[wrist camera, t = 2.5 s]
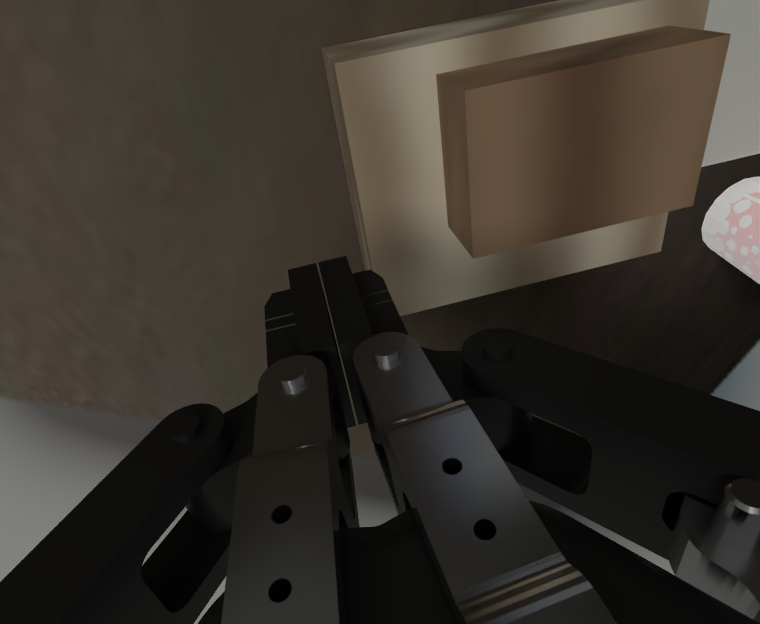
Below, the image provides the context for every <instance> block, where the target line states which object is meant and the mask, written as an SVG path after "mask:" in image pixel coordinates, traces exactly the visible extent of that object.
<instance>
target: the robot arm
mask: <svg viewBox="0 0 760 624" xmlns="http://www.w3.org/2000/svg"><path fill="white" fill-rule="evenodd" d="M318 263H319V267H320V271H321V275H322V279H323V284H324V288H325V292H326V296H327V300H328V304H329V308H330V312H331V316H332V320H333V324H334V329H335V333H336V337H337V341H338V345H339V349H340V353H341V357H342V361H343V365H344V368H345V372H346V376H347V380H348V384H349V388H350V392H351V396H352V400H353V404H354V408H355V412H356V416H357V419H358V423H359V424H363V423H368V427H369V430H370V434H371V438H372V442H373V446H374V450H375V454H376V456H377V459H378V462H379V465H380V467H381V470H382V473H383V475H384V478H385V481H386V483H387V486H388V489H389V492H390V494H391V497H392V500H393V502H394V505H395V508H396V510H397V513H398V516H396V517H394V518H392V519H391V520H389V521H387V522H386V523H384V524H382V525H379V526H376V527H359V518H358V510H357V501H356V494H355V485H354V476H353V468H352V459H351V454H350V451H349V449H350V439H349V435H348V430H347V428H349V427H353V426H356V424H355V419H354V415H353V411H352V407H351V403H350V399H349V394H348V390H347V386H346V382H345V378H344V373H343V369H342V365H341V361H340V357H339V353H338V348H337V344H336V340H335V336H334V332H333V328H332V324H331V320H330V316H329V312H328V308H327V304H326V300H325V296H324V292H323V289H322V285H321V281H320V277H319V273H318V269H317V265H316V263H314V264H310V265H306V266H302V267H298V268H293V269H289V270H288V274H289V281H290V289H289V290H285V291H281V292H276V293H272V295H271V296H270V298H269V300H268V302H267V303H266V305H265V321H266V322H265V326H266V345H267V365H268V368H267V369H266V370H265V372H264V373H263V374H262V376H261V378H260V380H259V384H258V393H257V394H255V395H254V396H253V397H252V398H251V399H249V400H248V401H246V402H245V403H243V404H241V405H239V406H237V407H235V408H233V409H231V410H230V411H228V412H226V413H224V414H222V412H221V411H220V409H219V408H217V407H216V406H213V405H210V404H193V405H189V406H186V407H183V408H181V409H179V410H176V411H175V412H173V413H171V414H170V415H168V416H167V417H166V418H164V419H163V420H162V421H161V422H160V423H159V424H158V425H157V426H156V427H155V428H154V429H153V430H152V431H151V432H150V433H149V434H148V435H147V436H146V437H145V438H144V439H143V440H142V441H141V442H140V443H139V444H138V445H137V446H136V447H135V448H134V449H133V450H132V451H131V452H130V453H129V454H128V455H127V456H126V457H125V458H124V459H123V460H122V461H121V462H120V463H119V464H118V465H117V466H116V467H115V468H114V469H113V470H112V471H111V472H110V473H109V474H108V475H107V476H106V477H105V478H104V479H103V480H102V481H101V482H100V483H99V484H98V485H97V486H96V487H95V488H94V489H93V490H92V491H91V492H90V493H89V494H88V495H87V496H86V497H85V498H84V499H83V500H82V501H81V502H80V503H79V504H78V505H77V506H76V507H75V508H74V509H73V510H72V511H71V512H70V513H69V514H68V515H67V516H66V517H65V518H64V519H63V520H62V521H61V522H60V523H59V524H58V525H57V526H56V527H55V528H54V529H53V530H52V531H51V532H50V533H49V534H48V535H47V536H46V537H45V538H44V539H43V540H42V541H41V542H40V543H39V544H38V545H37V546H36V547H35V548H34V549H33V550H32V551H31V552H30V553H29V554H28V555H27V556H26V557H25V558H24V559H23V560H22V561H21V562H20V563H19V564H18V565H17V566H16V567H15V568H14V569H13V570H12V571H11V572H10V573H9V574H8V575H7V576H6V577H5V578H4V579H3V580H2V581H1V582H0V624H194V622H195V621H196V619H197V618H198V616H199V615H200V613H201V612H202V610H203V609H204V608H205V606H206V605H207V603H208V602H209V600H210V599H211V597H212V596H213V594H214V593H215V591H216V590H217V588H218V587H219V585H220V584H221V583H222V581H223V580H224V578H225V577H226V585H225V591H224V592H223V594H222V595H221V596H220V597H219V598H218V599H217V600H216V601H215V602H214V603H213V604H212V605H211V607H210V608H209V609H208V611H207V612H206V613H205V614H204V616H203V617H202V619H201V620H200V621H199V623H198V624H760V411H757V410H754V409H751V408H748V407H745V406H742V405H739V404H736V403H733V402H730V401H727V400H724V399H721V398H718V397H715V396H711V395H708V394H705V393H702V392H699V391H696V390H693V389H690V388H687V387H684V386H681V385H678V384H675V383H672V382H669V381H666V380H663V379H660V378H657V377H653V376H650V375H647V374H644V373H641V372H638V371H635V370H632V369H629V368H626V367H623V366H620V365H617V364H614V363H611V362H608V361H605V360H602V359H598V358H595V357H592V356H589V355H586V354H583V353H580V352H577V351H574V350H571V349H568V348H565V347H562V346H559V345H556V344H553V343H550V342H547V341H544V340H540V339H537V338H534V337H531V336H528V335H525V334H522V333H519V332H516V331H513V330H509V329H501V328H494V329H486V330H482V331H479V332H477V333H475V334H473V335H471V336H470V337H469V338H468V339H467V340H466V341H465V342H464V344H463V346H462V350H461V351H435V350H430V349H426V348H423V347H421V346H419V344H418V342H417V341H416V340H415V339H414V338H412V337H411V336H409V335H408V333H407V331H406V329H405V327H404V324H403V322H402V320H401V318H400V315H399V313H398V311H397V309H396V306H395V304H394V302H393V300H392V297H391V295H390V293H389V291H388V288H387V286H386V284H385V281H384V279H383V277H381V276H380V275H378V274H376V273H375V272H373V271H372V270H367V271H362V272H358V273H354V274H352V272H351V269H350V266H349V263H348V260H347V258H346V256H343V257H339V258H335V259H331V260H326V261H322V262H318ZM532 414H535V415H537V416H540V417H542V418H544V419H547V420H549V421H551V422H554V423H556V424H559V425H561V426H563V427H566V428H568V429H570V430H573V431H575V432H577V433H579V434H580V435H581V436H583V437H584V438H583V437H581V436H578V435H576V434H574V433H571V432H569V431H567V430H564V429H562V428H560V427H557V426H555V425H552V424H550V423H548V422H545V421H543V420H541V419H538V418H536V417H534V416H532ZM517 482H518V483H520V484H521V485H523V486H525V487H527V488H529V489H531V490H533V491H535V492H537V493H539V494H541V495H543V496H545V497H547V498H549V499H551V500H553V501H554V502H557V503H558V504H561V505H562V506H564V507H566V508H568V509H570V510H572V511H574V512H576V513H578V514H580V515H582V516H584V517H586V518H587V519H589V520H591V521H593V522H595V523H597V524H599V525H601V526H603V527H605V528H607V529H609V530H611V531H613V532H615V533H617V534H619V535H621V536H622V537H624V538H626V539H628V540H630V541H632V542H634V543H636V544H638V545H640V546H642V547H644V548H646V549H648V550H650V551H652V552H653V553H655V554H657V555H659V556H661V557H663V558H665V559H667V560H669V562H670V565H671V568H672V570H673V572H674V574H675V575H673V574H671V573H669V572H667V571H666V570H664V569H662V568H660V567H659V566H657V565H655V564H653V563H651V562H650V561H648V560H646V559H644V558H643V557H641V556H639V555H637V554H635V553H634V552H632V551H630V550H628V549H627V548H625V547H623V546H621V545H619V544H617V543H616V542H614V541H612V540H610V539H609V538H607V537H605V536H603V535H602V534H600V533H598V532H596V531H594V530H593V529H591V528H589V527H587V526H585V525H584V524H582V523H580V522H578V521H577V520H575V519H573V518H571V517H570V516H568V515H566V514H564V513H562V512H560V511H558V510H556V509H553V508H551V507H548V506H546V505H543V504H539V503H536V502H533V501H529V500H527V498H526V497H525V495H524V493H523V491H522V490H521V488H520V487H519V485H518V484H517ZM185 506H186V508H187V509H188V510H187V512H186V513H185V514H184V515H183V517H182V518H181V519H180V520H179V521H178V523H177V524H176V525H175V526H174V528H173V529H172V530H171V531H170V533H169V534H168V535H167V536H166V537H165V539H164V540H163V541H162V542H161V544H160V545H159V546H158V547H157V548H156V550H155V551H154V552H153V553H152V555H151V556H150V557H149V558H148V559H147V561H146V562H145V563H144V565H143V566H142V564H143V561H144V559H145V557H146V555H147V553H148V551H149V550H150V549H151V547H152V546H153V545H154V544H155V543H156V541H157V540H158V539H159V538H160V536H161V535H162V534H163V533H164V532H165V531H166V529H167V528H168V527H169V526H170V524H171V523H172V522H173V521H174V520H175V518H176V517H177V516H178V515H179V514H180V512H181V511H182V510H183V509H184V507H185Z"/></svg>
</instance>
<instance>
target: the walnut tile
mask: <svg viewBox="0 0 760 624" xmlns="http://www.w3.org/2000/svg"><path fill="white" fill-rule="evenodd" d="M730 37H731V34H728V33H721V32H714V31H707V30H699V29H692V28H685V27H678V26H670V25H668V26H664V27H659V28H654V29H649V30H645V31H640V32H635V33H630V34H626V35H621V36H616V37H611V38H607V39H602V40H597V41H592V42H587V43H583V44H578V45H573V46H568V47H564V48H559V49H554V50H549V51H545V52H540V53H535V54H530V55H526V56H521V57H516V58H511V59H506V60H502V61H497V62H492V63H487V64H483V65H478V66H473V67H468V68H464V69H459V70H454V71H449V72H445V73H440V74H436V81H437V94H438V106H439V119H440V131H441V144H442V156H443V169H444V181H445V194H446V206H447V219H448V227H449V228H450V229H451V231H452V232H453V233H454V235H455V236H456V237H457V239H458V240H459V241H460V242H461V244H462V245H463V246H464V248H465V249H466V250H467V252H468V253H469V254H470V256H471V257H472V258H473V259H475V258H479V257H483V256H487V255H492V254H496V253H500V252H504V251H508V250H512V249H516V248H520V247H525V246H529V245H533V244H537V243H541V242H545V241H549V240H553V239H558V238H562V237H566V236H570V235H574V234H578V233H582V232H586V231H590V230H595V229H599V228H603V227H607V226H611V225H615V224H619V223H623V222H628V221H632V220H636V219H640V218H644V217H648V216H652V215H656V214H661V213H665V212H669V211H673V210H677V209H681V208H685V207H689V206H693V202H694V198H695V193H696V189H697V184H698V180H699V175H700V171H701V166H702V162H703V157H704V153H705V149H706V144H707V140H708V135H709V131H710V126H711V122H712V117H713V113H714V108H715V104H716V99H717V95H718V90H719V86H720V81H721V77H722V72H723V68H724V63H725V59H726V55H727V50H728V46H729V41H730Z"/></svg>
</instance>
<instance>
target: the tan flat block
mask: <svg viewBox="0 0 760 624" xmlns="http://www.w3.org/2000/svg"><path fill="white" fill-rule="evenodd" d="M709 1H710V0H558V1H553V2H548V3H543V4H538V5H533V6H528V7H523V8H518V9H513V10H508V11H504V12H499V13H494V14H489V15H484V16H479V17H474V18H469V19H464V20H459V21H454V22H449V23H444V24H439V25H434V26H429V27H424V28H419V29H414V30H409V31H404V32H399V33H394V34H389V35H385V36H380V37H375V38H370V39H365V40H360V41H355V42H350V43H345V44H340V45H335V46H330V47H325V48H321V50H322V55H323V60H324V65H325V71H326V76H327V81H328V86H329V91H330V96H331V101H332V106H333V111H334V116H335V121H336V127H337V132H338V137H339V142H340V147H341V152H342V157H343V162H344V167H345V172H346V178H347V183H348V188H349V193H350V198H351V203H352V208H353V213H354V218H355V223H356V228H357V234H358V239H359V244H360V249H361V254H362V259H363V264H364V269H365V271H367V270H372V271H373V272H375V273H376V274H378V275H380V276H381V277H383V279H384V281H385V284H386V286H387V288H388V291H389V293H390V295H391V297H392V300H393V302H394V304H395V306H396V309H397V311H398V313H399V315H400V316H403V315H407V314H411V313H415V312H419V311H423V310H427V309H431V308H435V307H440V306H444V305H448V304H452V303H456V302H460V301H464V300H468V299H472V298H476V297H480V296H484V295H488V294H492V293H496V292H500V291H504V290H508V289H512V288H516V287H520V286H524V285H528V284H532V283H536V282H540V281H544V280H548V279H552V278H556V277H560V276H564V275H568V274H572V273H576V272H580V271H584V270H588V269H592V268H596V267H600V266H604V265H608V264H612V263H616V262H620V261H624V260H628V259H632V258H636V257H640V256H644V255H648V254H652V253H656V252H660V251H661V247H662V242H663V237H664V232H665V227H666V222H667V217H668V212H665V213H661V214H656V215H652V216H648V217H644V218H640V219H636V220H632V221H628V222H623V223H619V224H615V225H611V226H607V227H603V228H599V229H595V230H590V231H586V232H582V233H578V234H574V235H570V236H566V237H562V238H558V239H553V240H549V241H545V242H541V243H537V244H533V245H529V246H525V247H520V248H516V249H512V250H508V251H504V252H500V253H496V254H492V255H487V256H483V257H479V258H475V259H473V258H472V257H471V256H470V254H469V253H468V252H467V250H466V249H465V248H464V246H463V245H462V244H461V242H460V241H459V240H458V239H457V237H456V236H455V235H454V233H453V232H452V231H451V229H450V228H449V227H448V219H447V206H446V194H445V181H444V169H443V156H442V144H441V131H440V119H439V106H438V94H437V81H436V74H440V73H445V72H449V71H454V70H459V69H464V68H468V67H473V66H478V65H483V64H487V63H492V62H497V61H502V60H506V59H511V58H516V57H521V56H526V55H530V54H535V53H540V52H545V51H549V50H554V49H559V48H564V47H568V46H573V45H578V44H583V43H587V42H592V41H597V40H602V39H607V38H611V37H616V36H621V35H626V34H630V33H635V32H640V31H645V30H649V29H654V28H659V27H664V26H668V25H670V26H678V27H685V28H692V29H699V30H704V27H705V22H706V16H707V11H708V6H709Z"/></svg>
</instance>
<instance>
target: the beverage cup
mask: <svg viewBox="0 0 760 624" xmlns="http://www.w3.org/2000/svg"><path fill="white" fill-rule="evenodd" d="M702 237H703V241H704V242H705V243H706V245H707V246H708V247H709V248H710V249H711V250H713V251H714V252H716V253H717V254H718V255H720V256H721V257H723V258H724V259H725V260H727V261H728V262H729V263H731V264H732V265H734V266H735V267H736V268H738V269H739V270H741V271H742V272H743V273H745V274H746V275H747V276H749V277H750V278H752V279H753V280H754V281H756V282H757V283H758V284H760V177H753V178H747V179H743V180H742V181H740V182H738V183H736V184H734V185H732V186H730V187H729V188H728V189H727V190H726V191H724V192H723V193H722V194H721V195H720V196H719V197H718V198H717V199H716V200H715V201H714V203H713V204H712V206H711V207H710V209H709V210H708V212H707V213H706V216H705V219H704V222H703V225H702Z"/></svg>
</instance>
